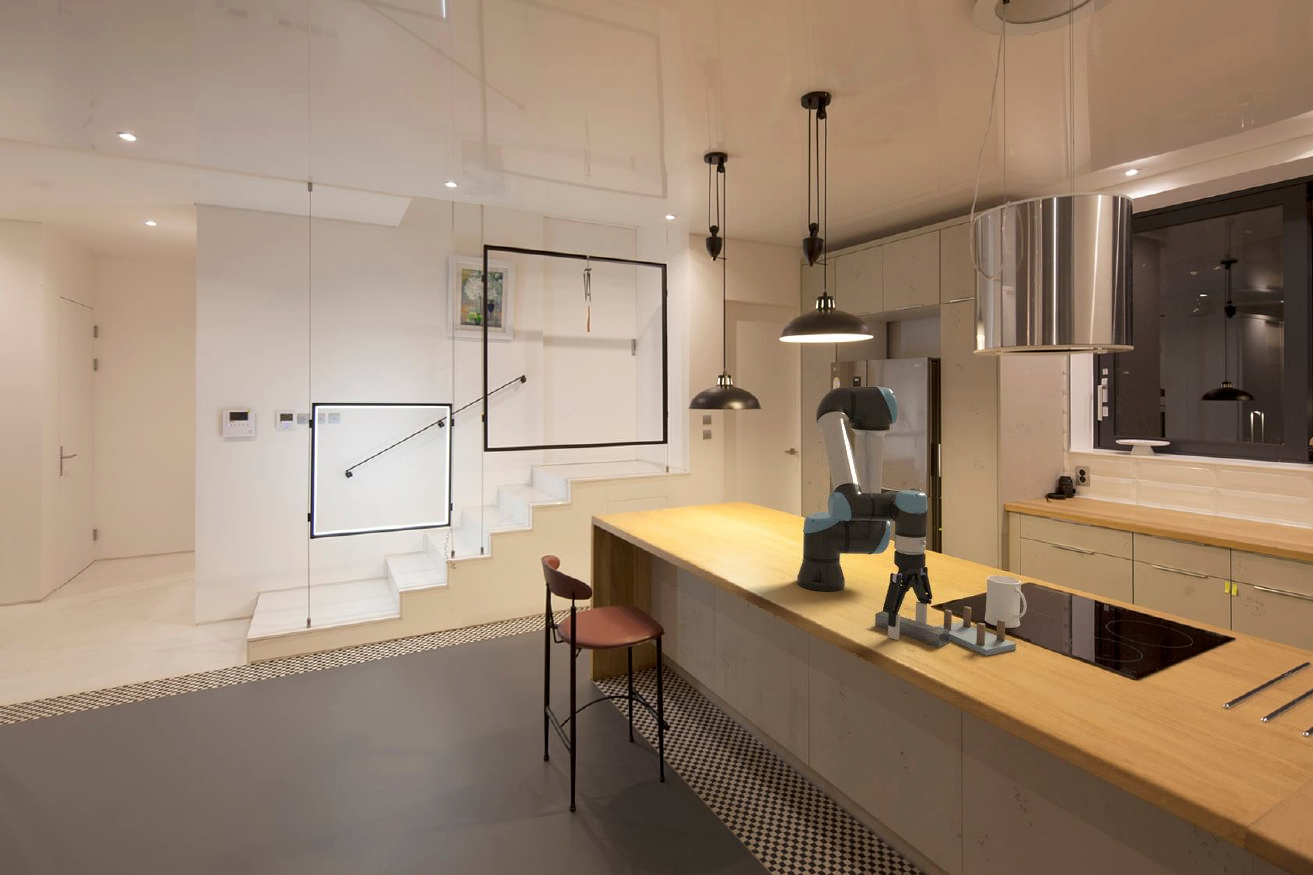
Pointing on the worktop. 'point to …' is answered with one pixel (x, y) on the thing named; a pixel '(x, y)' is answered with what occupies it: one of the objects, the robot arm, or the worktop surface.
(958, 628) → the peg rack
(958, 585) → the worktop surface
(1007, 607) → the mug
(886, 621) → the spanner bar
